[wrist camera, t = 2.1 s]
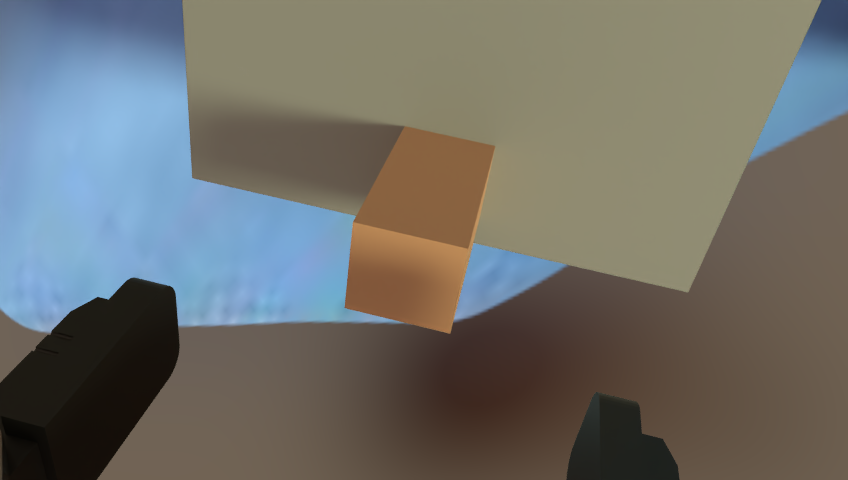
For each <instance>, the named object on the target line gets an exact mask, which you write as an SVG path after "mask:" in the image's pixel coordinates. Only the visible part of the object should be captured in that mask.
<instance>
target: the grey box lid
mask: <svg viewBox="0 0 848 480" xmlns="http://www.w3.org/2000/svg"><path fill="white" fill-rule="evenodd" d="M820 3H821V0H182V4H183V22H184V39H185V57H186V75H187V92H188V110H189V128H190V145H191V163H192V178H194V179H199V180H203V181H207V182H212V183H216V184H220V185H225V186H229V187H233V188H238V189H242V190H246V191H251V192H255V193H259V194H264V195H268V196H272V197H277V198H281V199H285V200H290V201H294V202H298V203H303V204H307V205H312V206H316V207H320V208H325V209H329V210H333V211H338V212H342V213H346V214H351V215H355V216H356V218H355V220H354V221H353V228H352V238H351V249H350V259H349V269H348V279H347V289H346V300H345V308H347V309H351V310H355V311H359V312H363V313H367V314H372V315H376V316H380V317H384V318H388V319H392V320H396V321H400V322H405V323H409V324H413V325H417V326H421V327H425V328H429V329H433V330H438V331H442V332H446V333H450V331H451V328H452V324H453V320H454V316H455V312H456V308H457V304H458V301H459V297H460V293H461V289H462V285H463V281H464V277H465V273H466V269H467V265H468V262H469V258H470V254H471V250H472V246H473V243H476V244H481V245H485V246H489V247H494V248H498V249H502V250H507V251H511V252H515V253H520V254H524V255H528V256H533V257H537V258H541V259H546V260H550V261H554V262H559V263H563V264H567V265H572V266H576V267H580V268H585V269H589V270H594V271H598V272H602V273H606V274H611V275H615V276H619V277H624V278H628V279H633V280H637V281H641V282H646V283H650V284H654V285H659V286H663V287H668V288H672V289H676V290H680V291H685V292H688V291H689V289H690V287H691V285H692V283H693V280H694V278H695V276H696V274H697V272H698V269H699V267H700V265H701V263H702V261H703V259H704V256H705V254H706V252H707V250H708V248H709V245H710V243H711V241H712V239H713V237H714V234H715V232H716V230H717V228H718V226H719V224H720V221H721V219H722V217H723V215H724V213H725V210H726V208H727V206H728V204H729V202H730V200H731V197H732V195H733V193H734V191H735V188H736V186H737V184H738V182H739V180H740V177H741V175H742V173H743V171H744V169H745V167H746V165H747V162H748V160H749V158H750V156H751V154H752V151H753V149H754V147H755V145H756V143H757V140H758V138H759V136H760V134H761V132H762V129H763V127H764V125H765V123H766V121H767V119H768V116H769V114H770V112H771V110H772V108H773V105H774V103H775V101H776V99H777V97H778V94H779V92H780V90H781V88H782V86H783V84H784V81H785V79H786V77H787V75H788V73H789V70H790V68H791V66H792V64H793V62H794V59H795V57H796V55H797V53H798V51H799V49H800V46H801V44H802V42H803V40H804V38H805V35H806V33H807V31H808V29H809V27H810V24H811V22H812V20H813V18H814V16H815V14H816V11H817V9H818V7H819V5H820Z"/></svg>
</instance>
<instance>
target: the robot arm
mask: <svg viewBox="0 0 848 480" xmlns="http://www.w3.org/2000/svg"><path fill="white" fill-rule="evenodd" d="M178 355H179V332H178V319H177V306H176V295H175V291H174V289H173V288H172V287H171V286H167V285H163V284H159V283H155V282H151V281H147V280H142V279H138V278H130V279H129V280H127V281H126V282H125V283H124V284H123V285H122V286H121V287H120V288H119V289H118V290H117V291H116V292H115V294H114V295H113V296H112V297H111V298H110V299H109V300H108V299H104V298H100V297H97V298H95V299H93V300H91V301H90V302H88V303H86V304H84V305H82V306H80V307H78V308H76V309H75V310H73V311H71V312H70V313H69V314H68V315H67V316H66V317H65V318H64V319H63V320H62V321H61V322H60V323H59V324H58V325H57V326H56V327H55V328H54V329H53V330H52V332H51V335H47V336H46V337H45V338H44V339H43V340H42V341H41V342H40V343H39V344H38V345H37V346H36V349H35V351H31V352H30V353H29V354H28V355H27V356H26V357H25V358H24V359H23V360H22V361H21V362H20V363H19V364H18V365H17V366H16V367H15V368H14V369H13V370H12V371H11V372H10V373H9V375H7V377H5V379H4V380H3V381H2V382H1V383H0V480H97V479H98V477H99V476H100V475H101V473H102V472H103V470H104V469H105V467H106V466H107V465H108V463H109V462H110V460H111V459H112V458H113V456H114V455H115V453H116V452H117V451H118V449H119V448H120V446H121V445H122V444H123V442H124V441H125V439H126V438H127V437H128V435H129V434H130V432H131V431H132V430H133V428H134V427H135V425H136V424H137V423H138V421H139V420H140V418H141V417H142V416H143V414H144V412H145V411H146V410H147V409H148V407H149V406H150V404H151V403H152V402H153V400H154V399H155V397H156V396H157V394H158V393H159V392H160V390H161V389H162V387H163V386H164V385H165V383H166V382H167V380H168V379H169V377H170V376H171V374H172V372H173V370H174V368H175V365H176V362H177V359H178ZM567 480H679V473H678V466H677V464H676V462H675V460H674V458H673V457H672V455H671V453H670V451H669V449H668V448H667V446H666V444H665V442H664V441H663V439H661V438H657V437H653V436H649V435H645V434H642V432H641V419H640V407H639V404H638V403H637V402H635V401H631V400H627V399H623V398H619V397H615V396H610V395H606V394H602V393H598V392H596V393H595V394H594V396H593V397H592V400H591V402H590V405H589V407H588V410H587V412H586V415H585V417H584V420H583V422H582V425H581V428H580V430H579V433H578V435H577V438H576V440H575V443H574V446H573V448H572V452H571V455H570V459H569V464H568V471H567Z"/></svg>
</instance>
